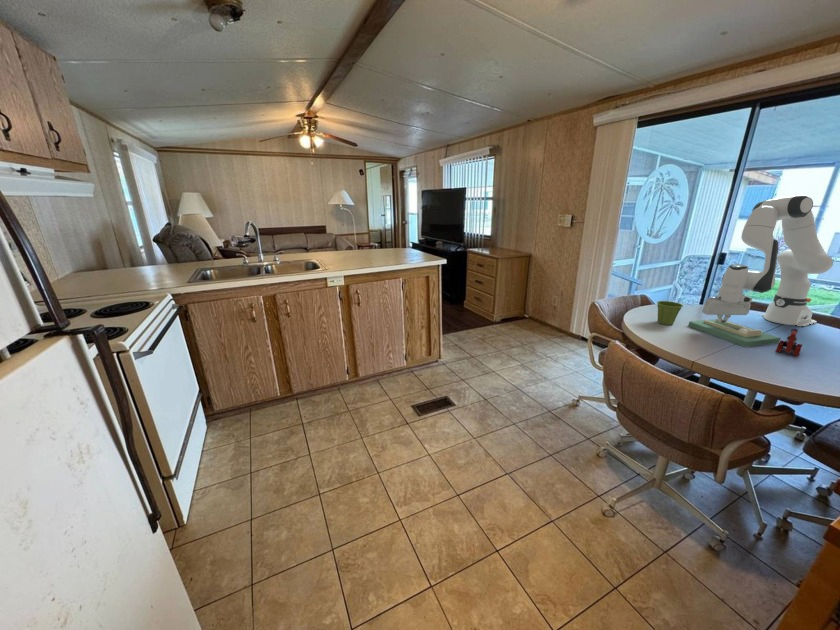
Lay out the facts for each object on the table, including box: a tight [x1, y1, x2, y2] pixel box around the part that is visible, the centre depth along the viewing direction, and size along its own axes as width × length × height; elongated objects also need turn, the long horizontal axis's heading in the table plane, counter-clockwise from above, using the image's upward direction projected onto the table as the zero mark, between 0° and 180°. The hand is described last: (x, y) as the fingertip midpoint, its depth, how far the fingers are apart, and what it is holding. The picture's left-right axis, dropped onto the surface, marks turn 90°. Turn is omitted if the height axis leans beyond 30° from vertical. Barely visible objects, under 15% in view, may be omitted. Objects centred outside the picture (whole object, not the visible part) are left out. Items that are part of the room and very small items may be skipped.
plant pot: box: [656, 300, 684, 326], centre depth 183 cm, size 12×12×11 cm
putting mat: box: [687, 318, 781, 348], centre depth 168 cm, size 28×20×6 cm
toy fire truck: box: [775, 328, 803, 357], centre depth 147 cm, size 7×12×10 cm, turn 129°
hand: (721, 322), depth 173 cm, fingers closed
